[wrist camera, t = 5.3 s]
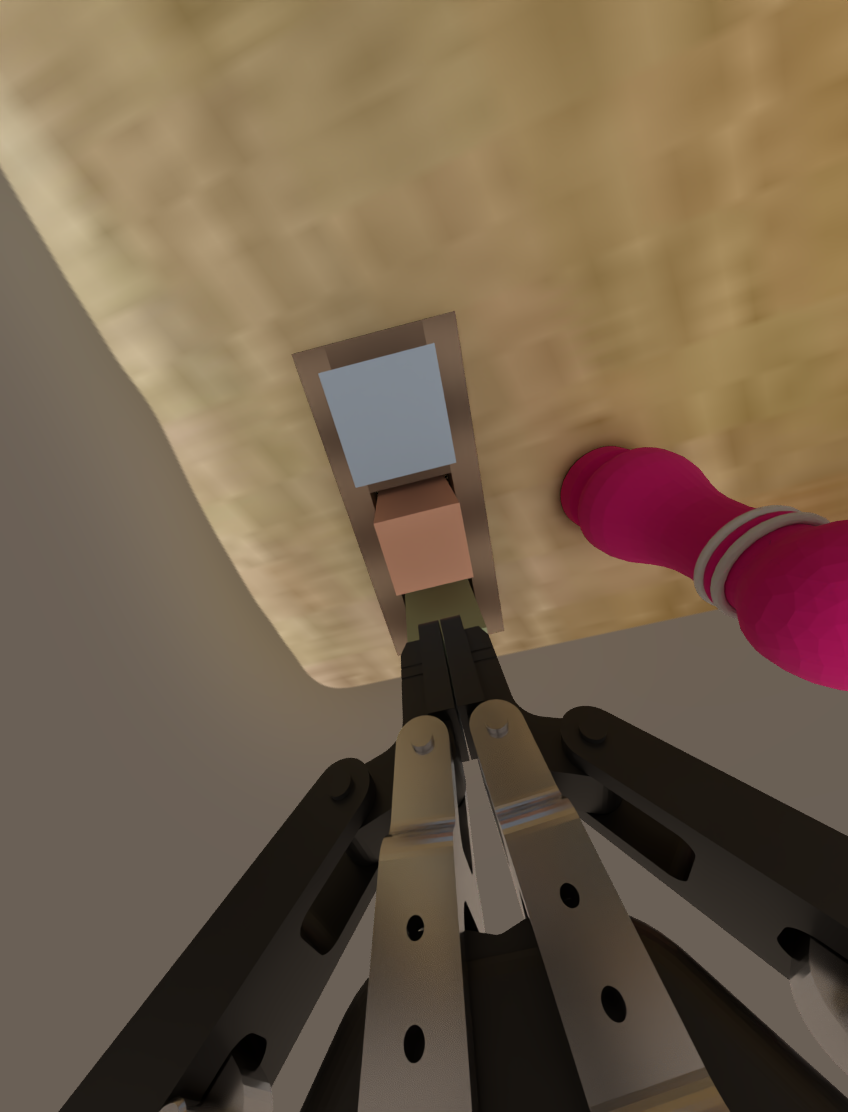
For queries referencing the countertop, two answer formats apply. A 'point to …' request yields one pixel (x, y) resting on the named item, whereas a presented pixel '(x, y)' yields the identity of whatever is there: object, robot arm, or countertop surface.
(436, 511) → the terracotta block
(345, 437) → the slate block
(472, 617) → the olive block
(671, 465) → the pepper mill
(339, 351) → the walnut board
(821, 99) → the countertop surface
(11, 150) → the countertop surface
